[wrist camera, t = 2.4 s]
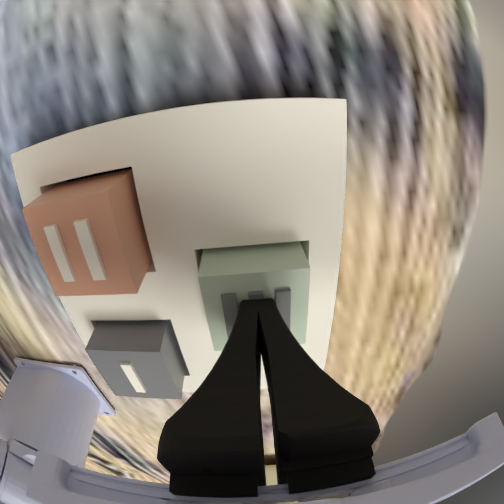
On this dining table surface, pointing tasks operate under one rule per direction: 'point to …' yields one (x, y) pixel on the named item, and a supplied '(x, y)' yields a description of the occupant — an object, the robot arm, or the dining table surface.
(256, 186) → the key panel
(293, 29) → the dining table surface
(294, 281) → the key three
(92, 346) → the key one
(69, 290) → the key two
